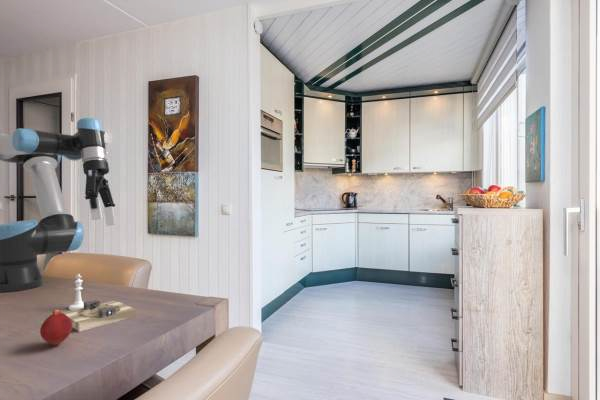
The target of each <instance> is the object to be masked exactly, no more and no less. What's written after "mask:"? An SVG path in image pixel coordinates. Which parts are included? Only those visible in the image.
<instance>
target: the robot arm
mask: <svg viewBox="0 0 600 400" xmlns="http://www.w3.org/2000/svg"><path fill="white" fill-rule="evenodd" d="M76 130H77V131H76V133H74V134H73V135H71V134H66V133H65V134H64V133H57V132H51V131H50V132H48V131H43V130H37V129H36V130H35V129H32V128H20V127H19V128H16V129H15V130H14V131H13V132H12V133H3V132H1V133H0V161H2V162H7V163H12V164H22V166H23V169H24V170H25V171H26V172H29V175H30V178H31V179H30V180H31V183H32V185H33V190H34V194H35V197H36V202H37V207H38V209H39V213H40V217H41V219H39V221H38V220H35V219H29V220H17V221H11V222H5V223H2V224H0V293H8V292H9V293H10V292H19V291H24V290H25V291H26V290H29V289H33V288H36V287H37V288H38V287H39V286H41V285H43V284H44V278H43V274H42V272H41V269H40V267H39V265H38V256H40V255H41V256H42V255H49V254H59V253H68V252H72V251H76V250H78V249H79V248H80V247H81V246H82V244H83V240H84V234H85V233H84V225H83V223H82V222H80V221H75V219H74V216H73V215H72V214H71V213H69V212H68V210H67V207H66V204H65V200H64V197H63V196H64V195H63V193H62V190H61V186H60V183H59V179H58V176H57V171H56V168H57V167H58V165H59V164H60V163H61V158H62V157H64V158H65V159H67V160H69V161H80V160H81V162H82V170H83V173H84V175H85V177H86V178H85V189H84V190H85V191H84V192H85V193H84V195H85V196H84V198H85V200H88V202H89V209H90V216H91V217H90V218H91V221H94V220H95V221H96V220H100V219H103V215H102V208H101V201H102V203H103V206H104V207H103V212H104V217H105V224H106V227H109V226H114V225H116V219H115V212H114V207H116V204H115V202H114V200H113V197H112V193H111V189H110V185H109V180H108V179H106V178H105V175H107V174H109V172H110V167H109V162H108V157H107V155H108V154H109V152H108V151H107V149H106V141H105V136H104V129H103V125H102V122H101V121H100V120H99V119H97V118H92V117H84V118H80V119H79V120H77V121H76ZM98 197H100V198H98ZM100 200H101V201H100Z"/></svg>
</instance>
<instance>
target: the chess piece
mask: <svg viewBox="0 0 600 400" xmlns="http://www.w3.org/2000/svg"><path fill="white" fill-rule="evenodd" d="M81 278H82V275H81V274H80V273H77V275H75V279H76V280H74V284H75V286H76V287H75V288H74V291H76V292H75V293H76V294H75V300H74V302H73V303H72V304H70V305H68V308H67V309H68V311H72V310H76V309H81V308H84V302H85V301H83V300H82V293H81V290H83V289H84V288H83V287H82V284H83V281H84V280H83V279H81Z"/></svg>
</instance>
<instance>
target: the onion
mask: <svg viewBox="0 0 600 400" xmlns="http://www.w3.org/2000/svg"><path fill="white" fill-rule="evenodd" d="M72 331H73V328H72V321H71V320H70V318H69V317H68V316H67V315H65V314H63V312H61V311H60V310H58V309H55V310H53V311H52V314H50V315H49V316H48V317H47V318H45V320H44V321H43V323H42V324H41V326H40V330H39V333H40V337H41V338H42V340H43V341H45V342H47V343H49V344H51V345H53V346H59V345H61V344H62V343H63V342H64V341H65V340H66V339H67V338H68V337H69V336H70V334H71V332H72Z"/></svg>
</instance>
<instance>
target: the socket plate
mask: <svg viewBox="0 0 600 400" xmlns="http://www.w3.org/2000/svg"><path fill="white" fill-rule="evenodd" d="M83 302H84V308H81V309H76V310H68V311H64V312H62V313H63V314H65V315H67V316H68V317H69V318H70V320H71V321H72V329H75V331H77V332H79V333H80V332H83V331H84V332H85V331H88V330H91V329H95V328H98V327H102V326H105V325H110V324H113V323H117V322H120V321H124V320H127V319H130V318H131V319H132V318H135V317H136V316H137V315H136V313H137V312H136V311H137V309H136V308H134V307H132V306H130V305H128V304H125V303H122V302H120V301H117V300H112V301H108V302H103V303H101V301H100V300H98V299H92V300H87V301H83ZM91 304H96V305H97V307H96V308H93V307H92V306H91ZM108 311H109V312H111V314H110V315H108V314H107V312H108Z"/></svg>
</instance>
